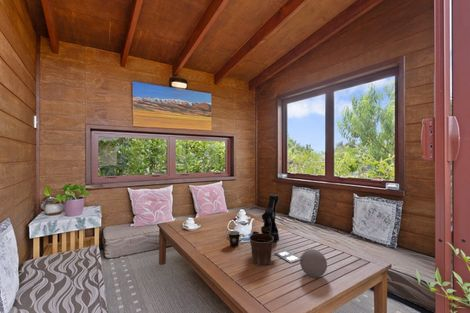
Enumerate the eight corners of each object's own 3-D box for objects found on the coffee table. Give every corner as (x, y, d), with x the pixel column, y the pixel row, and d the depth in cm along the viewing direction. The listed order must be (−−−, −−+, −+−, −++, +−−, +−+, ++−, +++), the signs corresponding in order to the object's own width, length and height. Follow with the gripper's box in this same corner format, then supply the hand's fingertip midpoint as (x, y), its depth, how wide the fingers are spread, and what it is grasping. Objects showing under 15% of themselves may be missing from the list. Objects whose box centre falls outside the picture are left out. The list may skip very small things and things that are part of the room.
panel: (285, 251, 169) (285, 250, 169) (301, 259, 155) (301, 258, 155) (274, 254, 164) (274, 253, 164) (290, 263, 150) (290, 262, 150)
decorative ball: (295, 275, 135) (295, 250, 135) (307, 266, 145) (307, 243, 145) (320, 286, 124) (319, 258, 124) (331, 275, 135) (331, 250, 135)
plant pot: (272, 268, 143) (272, 243, 143) (247, 266, 147) (247, 241, 147) (274, 257, 159) (274, 234, 159) (251, 255, 163) (251, 232, 163)
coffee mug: (226, 246, 179) (226, 233, 179) (232, 242, 187) (231, 230, 187) (240, 249, 174) (239, 235, 174) (245, 244, 181) (244, 232, 181)
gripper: (252, 220, 168) (248, 240, 157) (278, 222, 161) (275, 244, 151) (255, 227, 175) (252, 247, 165) (280, 230, 169) (278, 251, 158)
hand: (264, 247), depth 159 cm, fingers closed
